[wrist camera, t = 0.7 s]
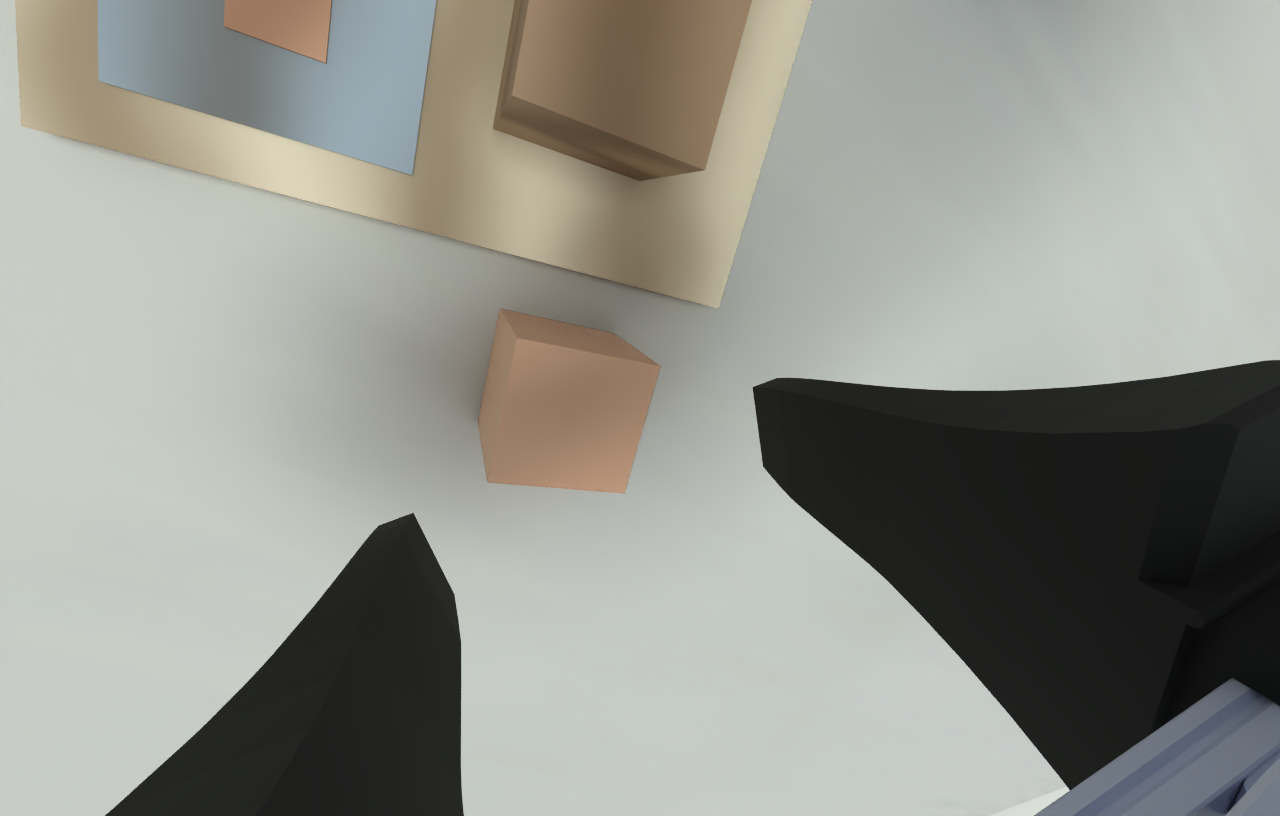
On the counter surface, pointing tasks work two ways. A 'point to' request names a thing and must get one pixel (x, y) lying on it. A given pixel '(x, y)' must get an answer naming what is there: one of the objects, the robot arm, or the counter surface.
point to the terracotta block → (562, 405)
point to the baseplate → (446, 113)
